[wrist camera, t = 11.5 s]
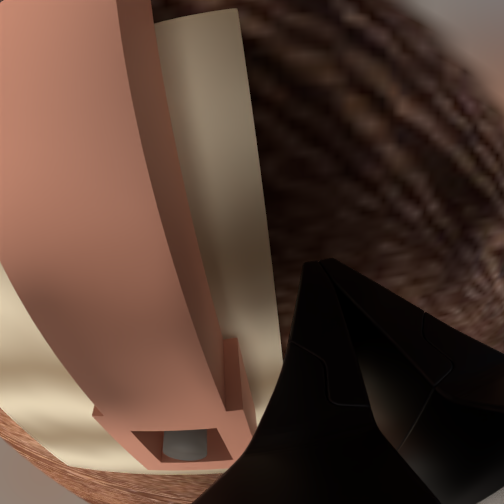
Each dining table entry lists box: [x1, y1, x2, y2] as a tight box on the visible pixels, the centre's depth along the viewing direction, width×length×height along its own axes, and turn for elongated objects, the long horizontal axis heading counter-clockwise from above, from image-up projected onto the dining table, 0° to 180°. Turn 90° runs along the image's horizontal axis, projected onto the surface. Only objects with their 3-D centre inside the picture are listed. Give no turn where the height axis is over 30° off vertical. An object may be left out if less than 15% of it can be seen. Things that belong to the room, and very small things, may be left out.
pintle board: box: [0, 8, 283, 475], centre depth 11 cm, size 24×18×4 cm
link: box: [0, 0, 257, 471], centre depth 8 cm, size 16×5×3 cm, turn 8°
